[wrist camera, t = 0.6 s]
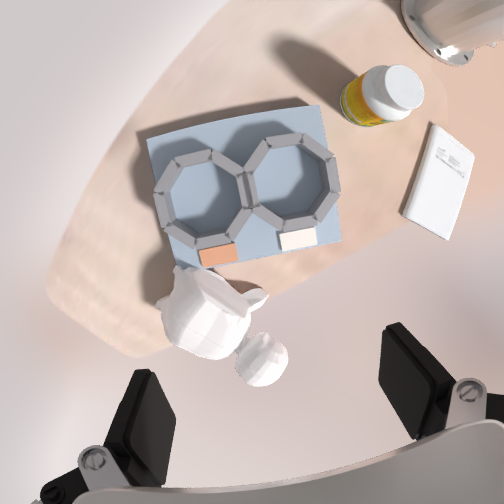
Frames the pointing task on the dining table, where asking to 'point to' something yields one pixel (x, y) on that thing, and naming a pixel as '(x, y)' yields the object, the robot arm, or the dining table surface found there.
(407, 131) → the dining table surface
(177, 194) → the socket board
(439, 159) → the external hard drive
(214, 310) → the white figurine
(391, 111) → the supplement bottle
